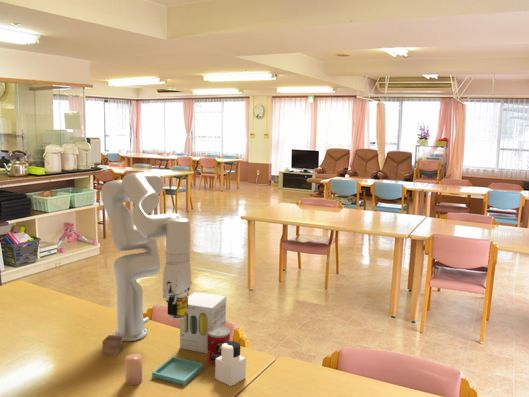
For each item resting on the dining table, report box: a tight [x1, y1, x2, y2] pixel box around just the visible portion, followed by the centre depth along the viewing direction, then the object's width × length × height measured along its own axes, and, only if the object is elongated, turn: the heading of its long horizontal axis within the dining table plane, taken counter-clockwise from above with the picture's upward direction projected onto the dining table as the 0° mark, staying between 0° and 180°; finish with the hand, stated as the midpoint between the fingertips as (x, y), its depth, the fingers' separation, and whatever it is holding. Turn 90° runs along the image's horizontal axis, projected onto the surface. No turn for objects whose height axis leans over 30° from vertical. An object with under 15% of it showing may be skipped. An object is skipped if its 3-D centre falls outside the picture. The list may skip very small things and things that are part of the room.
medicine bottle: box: [214, 340, 247, 387], centre depth 151 cm, size 7×7×12 cm
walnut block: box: [102, 334, 123, 357], centre depth 168 cm, size 5×5×5 cm
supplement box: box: [179, 291, 227, 354], centre depth 175 cm, size 13×13×18 cm
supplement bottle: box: [168, 290, 187, 321], centre depth 151 cm, size 6×6×10 cm
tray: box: [151, 356, 204, 387], centre depth 155 cm, size 12×12×2 cm
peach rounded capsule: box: [125, 353, 143, 386], centre depth 149 cm, size 5×5×8 cm
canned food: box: [206, 326, 231, 366], centre depth 163 cm, size 8×8×11 cm
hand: (177, 310), depth 152 cm, fingers closed on supplement bottle, 5 cm apart
